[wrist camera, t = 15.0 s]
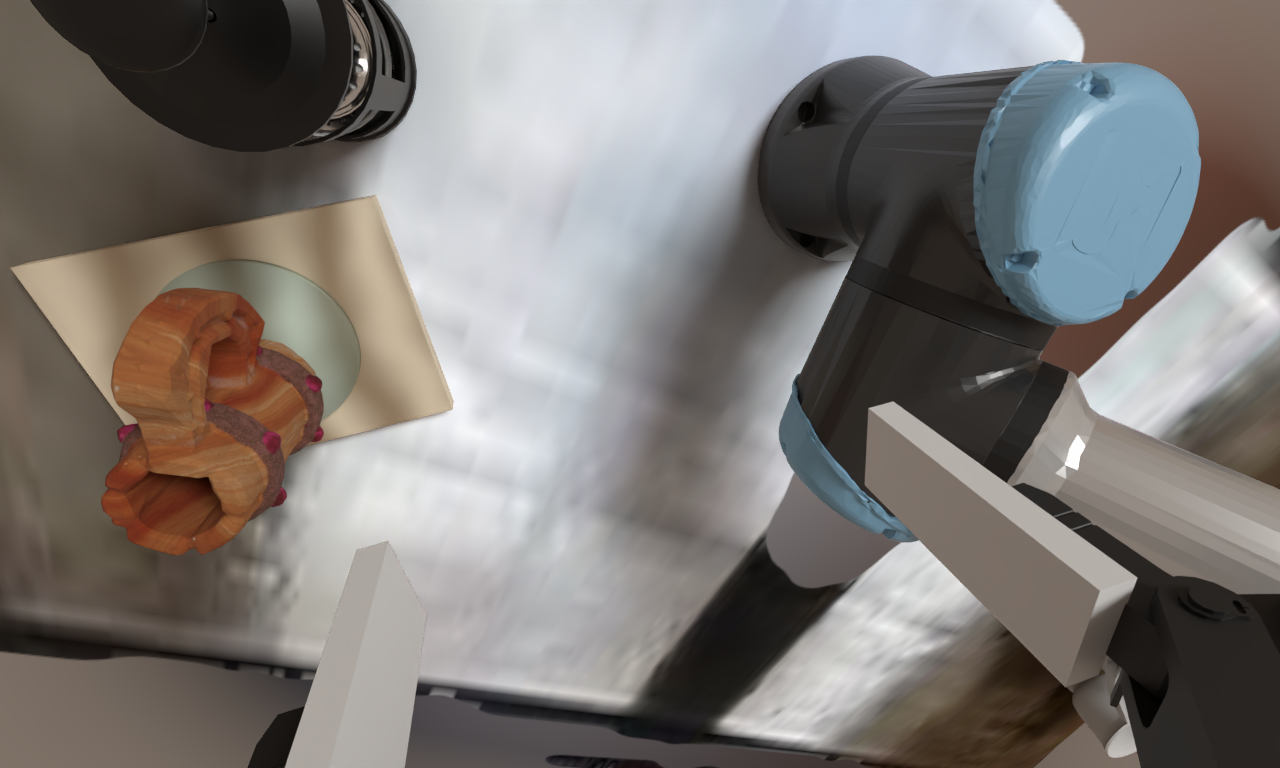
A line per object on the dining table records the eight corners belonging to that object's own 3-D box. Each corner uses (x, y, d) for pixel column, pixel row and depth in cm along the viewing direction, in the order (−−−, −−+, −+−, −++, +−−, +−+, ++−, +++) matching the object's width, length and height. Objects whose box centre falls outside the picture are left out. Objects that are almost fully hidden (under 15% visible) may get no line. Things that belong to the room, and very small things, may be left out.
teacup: (1090, 701, 101) (1146, 757, 92) (1038, 700, 96) (1092, 759, 87) (1132, 657, 97) (1195, 710, 88) (1080, 653, 92) (1141, 709, 83)
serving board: (375, 194, 38) (368, 199, 36) (453, 401, 46) (451, 414, 44) (28, 262, 35) (-1, 271, 33) (176, 469, 43) (160, 487, 41)
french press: (385, 177, 37) (253, 246, 17) (230, 102, 34) (-167, 80, 14) (448, 2, 34) (374, -164, 14) (283, -103, 30) (-142, -534, 10)
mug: (337, 443, 43) (264, 588, 29) (215, 436, 40) (77, 591, 27) (334, 260, 37) (242, 340, 24) (192, 240, 34) (3, 316, 21)
